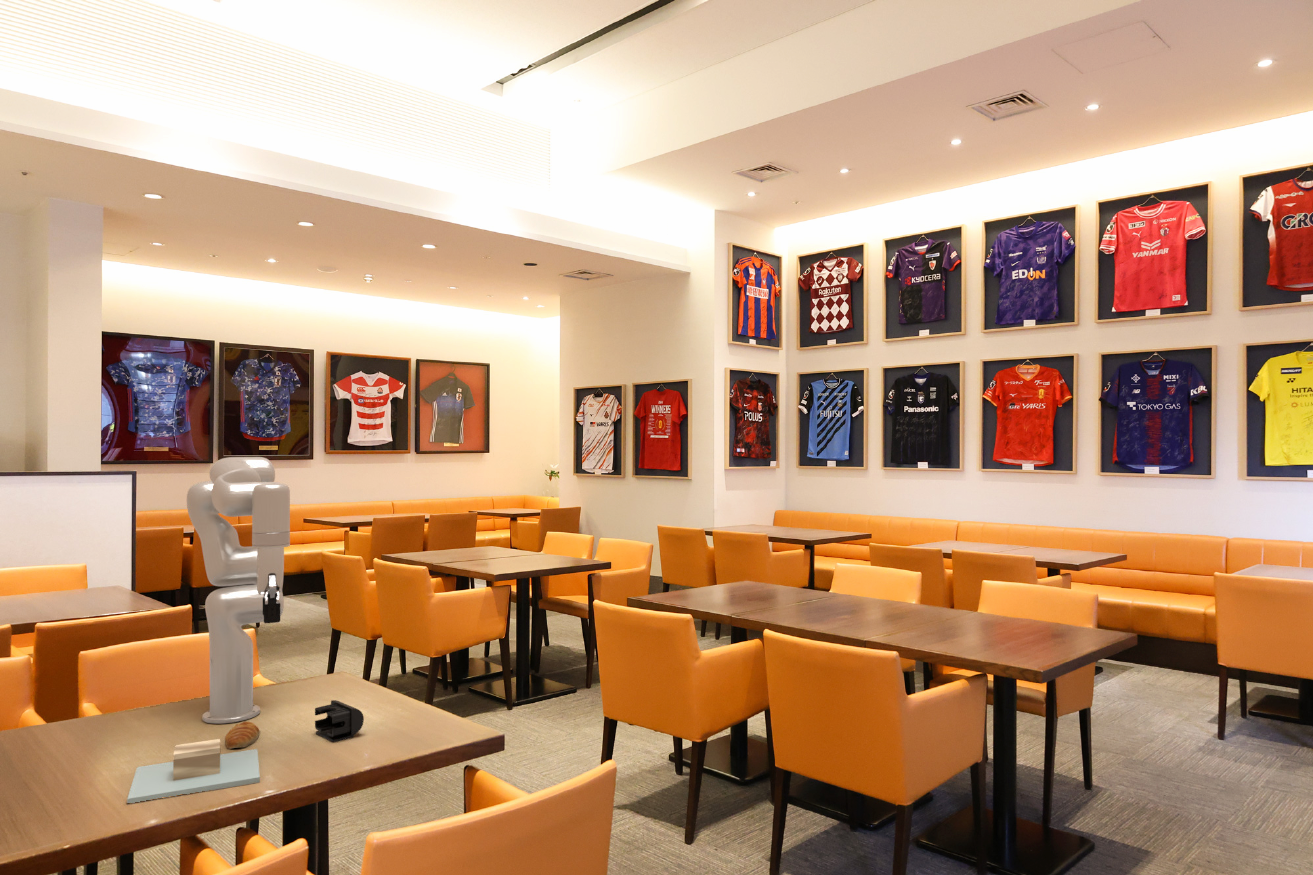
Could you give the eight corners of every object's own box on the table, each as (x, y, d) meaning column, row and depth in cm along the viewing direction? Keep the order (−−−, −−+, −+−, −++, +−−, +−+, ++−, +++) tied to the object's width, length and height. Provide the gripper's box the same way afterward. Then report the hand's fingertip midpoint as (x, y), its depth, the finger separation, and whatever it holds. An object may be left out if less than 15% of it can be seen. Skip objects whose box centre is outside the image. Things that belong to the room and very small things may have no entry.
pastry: (253, 749, 184) (253, 731, 184) (219, 753, 182) (219, 735, 182) (261, 735, 193) (261, 718, 193) (228, 738, 191) (228, 722, 191)
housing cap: (175, 770, 169) (175, 745, 169) (220, 763, 172) (220, 738, 172) (173, 780, 163) (173, 754, 163) (219, 773, 167) (219, 747, 167)
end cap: (364, 735, 192) (364, 705, 192) (334, 743, 187) (334, 712, 187) (343, 726, 199) (343, 697, 199) (314, 733, 194) (314, 704, 194)
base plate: (137, 771, 171) (137, 754, 171) (257, 753, 181) (257, 737, 181) (127, 804, 155) (127, 785, 155) (259, 782, 165) (259, 764, 165)
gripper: (251, 537, 191) (251, 613, 190) (252, 544, 175) (252, 627, 175) (287, 535, 194) (288, 610, 194) (292, 542, 178) (292, 624, 178)
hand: (271, 618), depth 184 cm, fingers open, 9 cm apart
